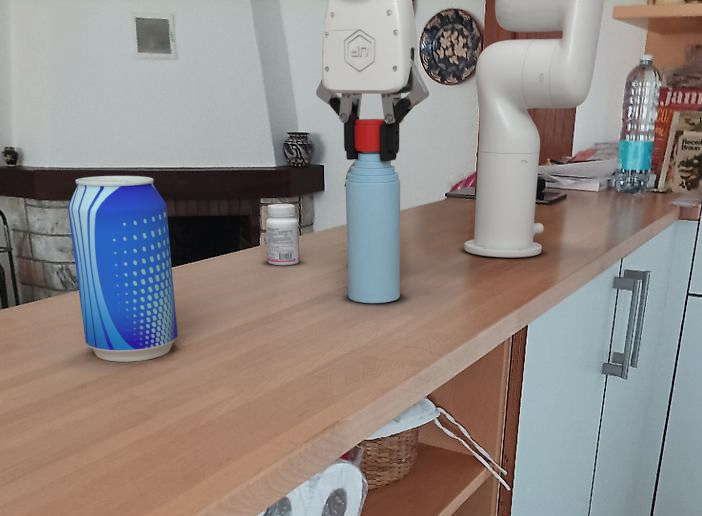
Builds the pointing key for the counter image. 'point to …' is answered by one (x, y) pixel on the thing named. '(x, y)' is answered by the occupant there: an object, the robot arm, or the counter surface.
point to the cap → (368, 135)
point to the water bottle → (373, 230)
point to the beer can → (123, 267)
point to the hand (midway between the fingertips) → (371, 158)
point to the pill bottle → (282, 235)
